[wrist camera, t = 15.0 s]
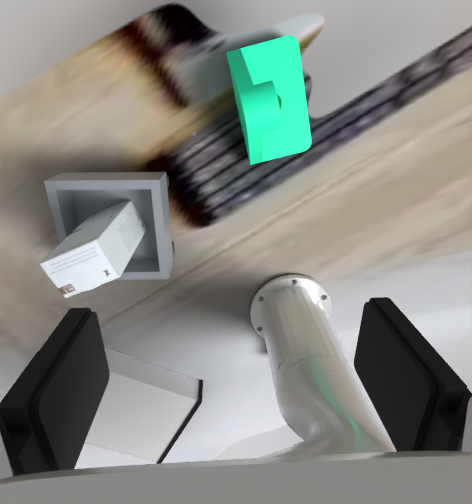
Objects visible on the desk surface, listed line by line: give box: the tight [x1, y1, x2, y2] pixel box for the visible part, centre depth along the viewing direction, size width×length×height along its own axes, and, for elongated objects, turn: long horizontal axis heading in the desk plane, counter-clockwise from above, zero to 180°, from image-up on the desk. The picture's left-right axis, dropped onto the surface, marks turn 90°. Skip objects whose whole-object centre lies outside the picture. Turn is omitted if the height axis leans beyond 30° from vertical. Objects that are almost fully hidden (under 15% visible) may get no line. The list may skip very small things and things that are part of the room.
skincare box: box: [40, 201, 147, 298], centre depth 34 cm, size 6×4×12 cm
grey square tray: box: [44, 172, 175, 280], centre depth 40 cm, size 12×12×8 cm
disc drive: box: [84, 347, 203, 464], centre depth 55 cm, size 18×22×5 cm
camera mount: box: [226, 35, 312, 165], centre depth 34 cm, size 12×8×10 cm, turn 13°
